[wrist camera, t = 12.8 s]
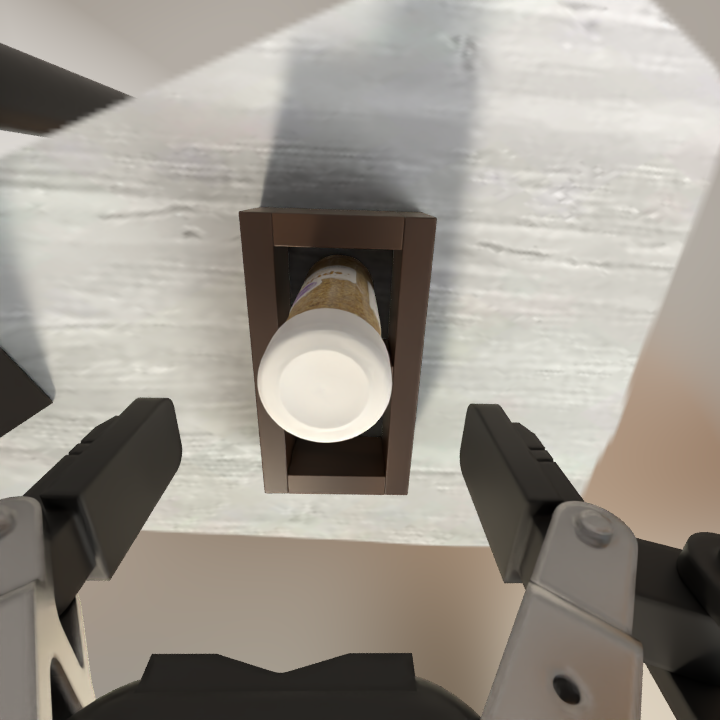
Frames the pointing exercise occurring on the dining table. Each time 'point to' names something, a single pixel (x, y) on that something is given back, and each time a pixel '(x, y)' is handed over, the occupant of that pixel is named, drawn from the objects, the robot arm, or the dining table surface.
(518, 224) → the dining table surface
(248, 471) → the dining table surface
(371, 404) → the sprinkles bottle
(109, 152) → the dining table surface
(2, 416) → the phone stand
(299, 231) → the holder
